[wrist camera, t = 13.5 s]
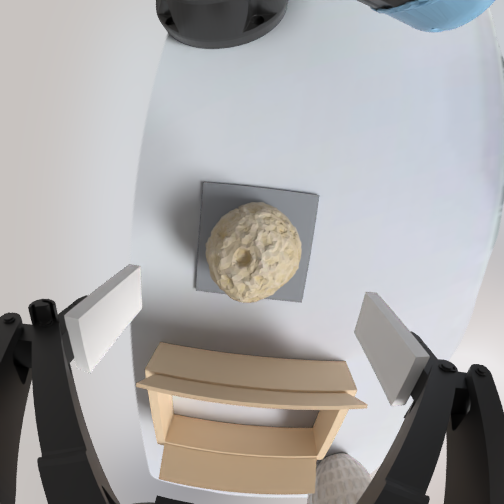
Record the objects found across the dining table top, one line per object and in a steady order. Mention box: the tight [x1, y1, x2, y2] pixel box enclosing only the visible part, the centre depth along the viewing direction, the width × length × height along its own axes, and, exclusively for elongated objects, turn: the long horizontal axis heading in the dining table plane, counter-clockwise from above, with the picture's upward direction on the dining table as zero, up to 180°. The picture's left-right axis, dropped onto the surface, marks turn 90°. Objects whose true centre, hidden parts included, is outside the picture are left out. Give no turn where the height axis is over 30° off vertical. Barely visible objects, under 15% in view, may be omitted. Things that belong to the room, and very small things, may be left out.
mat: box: [196, 182, 319, 302], centre depth 30 cm, size 12×12×1 cm
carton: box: [136, 342, 367, 494], centre depth 30 cm, size 20×24×11 cm
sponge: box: [205, 202, 302, 303], centre depth 27 cm, size 9×10×10 cm
